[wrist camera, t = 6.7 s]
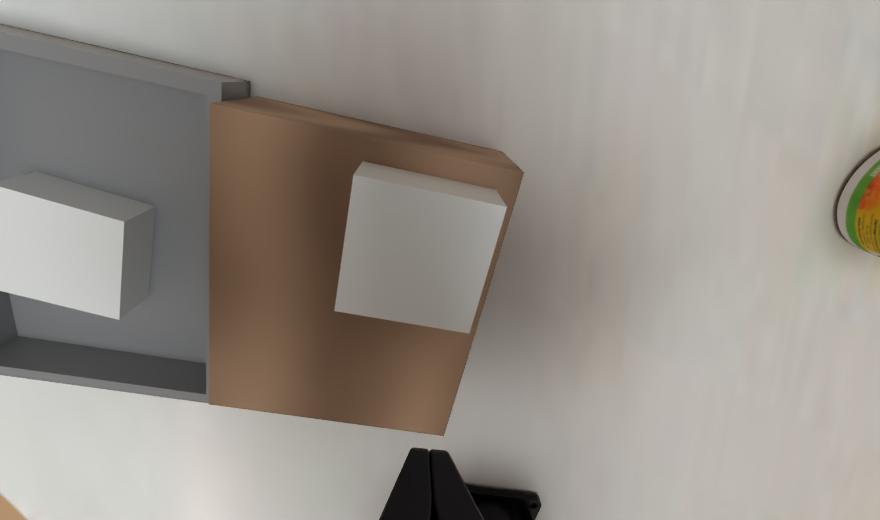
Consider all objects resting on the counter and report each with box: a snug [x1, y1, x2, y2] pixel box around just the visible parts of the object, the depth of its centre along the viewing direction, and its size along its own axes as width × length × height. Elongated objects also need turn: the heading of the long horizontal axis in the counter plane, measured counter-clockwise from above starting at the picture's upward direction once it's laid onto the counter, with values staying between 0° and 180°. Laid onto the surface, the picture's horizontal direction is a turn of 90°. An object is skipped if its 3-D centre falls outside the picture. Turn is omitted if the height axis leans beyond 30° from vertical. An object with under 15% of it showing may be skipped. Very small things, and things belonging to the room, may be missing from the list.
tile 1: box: [0, 172, 156, 320], centre depth 17 cm, size 4×4×2 cm
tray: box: [0, 24, 250, 403], centre depth 17 cm, size 10×14×2 cm
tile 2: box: [334, 161, 507, 334], centre depth 14 cm, size 4×4×2 cm
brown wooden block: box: [209, 97, 524, 436], centre depth 17 cm, size 10×12×4 cm
